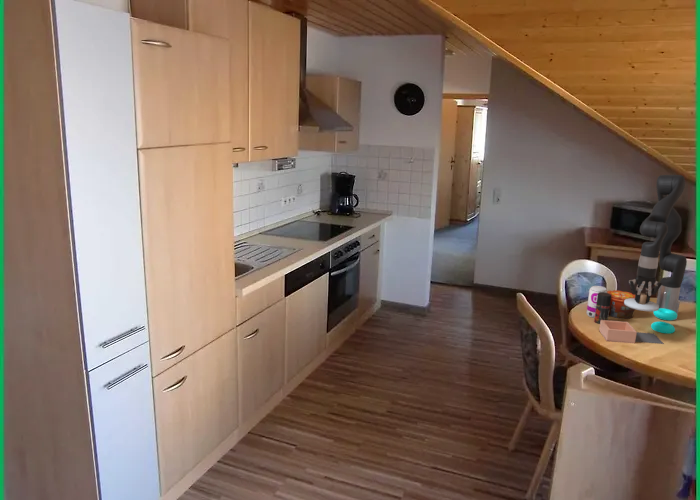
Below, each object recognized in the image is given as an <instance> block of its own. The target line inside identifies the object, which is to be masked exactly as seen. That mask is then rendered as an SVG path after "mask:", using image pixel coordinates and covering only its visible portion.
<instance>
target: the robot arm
mask: <svg viewBox="0 0 700 500" xmlns="http://www.w3.org/2000/svg"><path fill="white" fill-rule="evenodd" d="M685 188H686V180H685V177H684V175H681V174H680V175H679V174H660V175H659V176H658V177H657V179H656V194H657V196H656V197H657V202H656V203H655V204H654V206H653V208H652V210H651V211H650V214H649V216H647V217H646V218H645V219H644V220H643V221H642V223H641V225H640V226H639V233H640V234H641V235H642V236H643V237H647V238H654V239H655V240H654V241H645V242H643V243H642V245H641V250H640V256H639V260H638V264H637V271H636V276H635V278H634V279H628V285H629V288H630V291H631V293H632V294H634V295H635V301H636V302H637V303H639V300H640V293H642V291H643V289H645V294H647V299H646V303H648V302H649V301H650V300H651V296H653V295H657V297H656V298H657V299H656V302H655V303H656V304H658V305H659V308H665V309H670V310H673V311H675V312H676V313H677V315H679V308H680V301H679V298H680V292H681V287H682V283H683V281H684V277H685V276H684V275H685V271H686V268H687V261H688V259H687V257H686V256H685V255H682V254H676V253H672V250H671V249H672V245H673V244H674V242H675V241H676V240H677V239H678V237H679V236H680V234H681V232H682V217H681V216H680V215H681V214H680V213H679V212H678V211H677V210H676V209H675V208H674V206H675V204H676V203H677V202H678V200H679V199H680V197H681V196H682V195H683V193H684V191H685ZM658 267H659V268H660V270H662V271H664V272H669V273H672V274H671V276H665V277H664V276H663V277H661V278H660V279H659V280H660V281H657V278H656V276H657V270H658ZM635 284H637V285H636V287H635ZM653 285H654V286H653ZM652 286H653V287H652ZM653 316H654V317H655V318H657V317H656V316H655V315H654V314H653ZM657 319H658V318H657ZM677 319H678V317H677V318H676V319H674V320H673V321H677ZM668 321H669V322H670V321H672V320H668Z"/></svg>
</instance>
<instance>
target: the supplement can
mask: <svg viewBox="0 0 700 500" xmlns="http://www.w3.org/2000/svg"><path fill="white" fill-rule="evenodd" d="M588 290H589V291H588V299H587V306H586V315H587V316H588V317H590V318H593V319H594V318H595V311H596V304H597V297H598V293H599V292H604V293H607V291H608V290H607V288H606V287H605V286H601V285H592V286H591V287H590V288H589V289H588Z"/></svg>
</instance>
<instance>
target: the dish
mask: <svg viewBox="0 0 700 500" xmlns="http://www.w3.org/2000/svg"><path fill="white" fill-rule="evenodd" d="M598 332H599V333H600V335H601V336H602V337H603V339H604V340H605V341H606V342H612V343H624V344H635V343H636V342H635V339H636V333H637V332H638V331H636V329H635V328H634V327H633V326H632V325H631V324H630V323H629V322H628V321H620V320H619V321H618V320H609V319H608V320H601V321H600V324H599V329H598Z"/></svg>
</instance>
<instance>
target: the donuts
mask: <svg viewBox="0 0 700 500" xmlns="http://www.w3.org/2000/svg"><path fill="white" fill-rule="evenodd" d="M652 312H653V316H654V315H655V316H656V317H657V319H659V320H663V321H654V322H652V323H651V324H650V327H651V329H652V330H653V331H655V332H657V333H661V334H673V333H675V331H676V328H675V327H674V325H673V324H672V323H669V322H666V321H669V320H671V321H675V320H674V319H676V318H677V319H678V315H679V314H678V315H677V313H676V312H675V311H673V310H670V309H665V308H659V310H657V311H652ZM655 316H654V317H655ZM656 317H655V318H656Z"/></svg>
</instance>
